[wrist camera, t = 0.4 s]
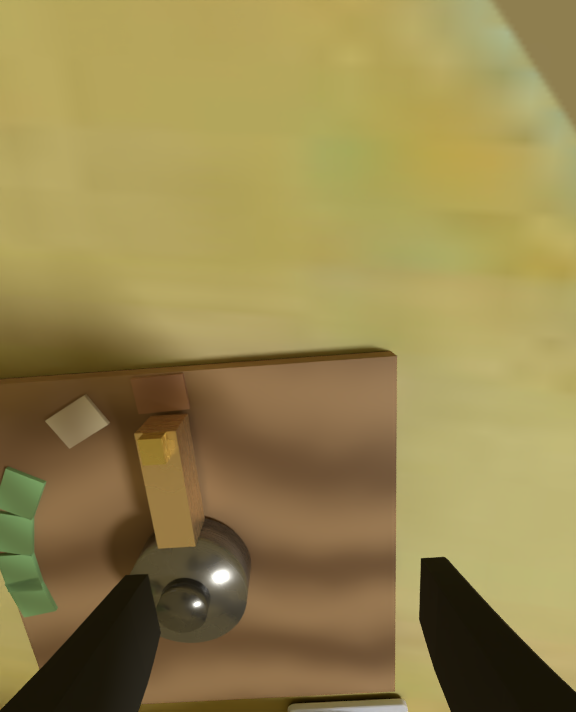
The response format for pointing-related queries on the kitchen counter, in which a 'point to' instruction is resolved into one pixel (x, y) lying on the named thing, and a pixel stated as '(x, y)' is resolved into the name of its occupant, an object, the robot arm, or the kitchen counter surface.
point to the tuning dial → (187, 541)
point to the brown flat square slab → (217, 514)
